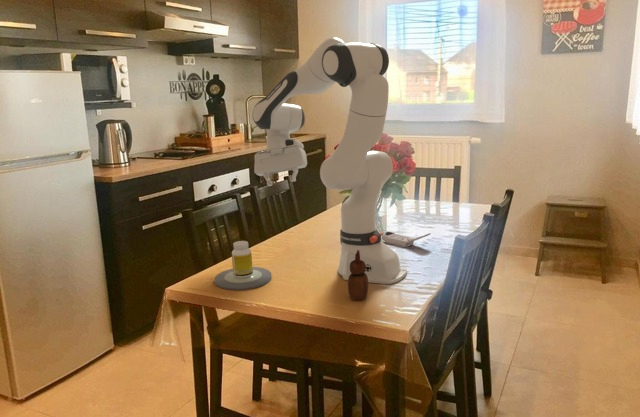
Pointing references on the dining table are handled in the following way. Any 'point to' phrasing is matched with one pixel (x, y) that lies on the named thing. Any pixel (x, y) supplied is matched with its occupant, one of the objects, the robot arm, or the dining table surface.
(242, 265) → the pill bottle
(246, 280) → the plate
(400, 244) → the grey brush
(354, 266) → the brown squeeze bottle
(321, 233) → the dining table surface
